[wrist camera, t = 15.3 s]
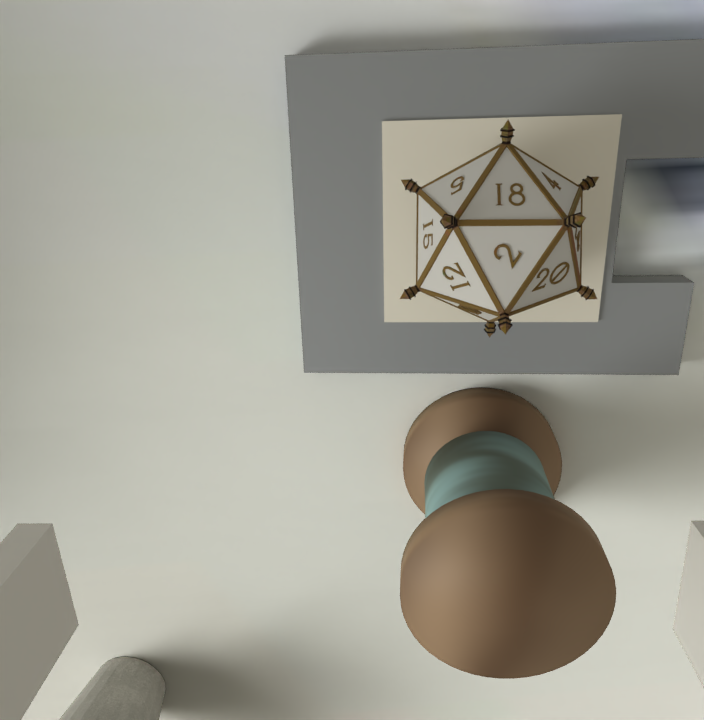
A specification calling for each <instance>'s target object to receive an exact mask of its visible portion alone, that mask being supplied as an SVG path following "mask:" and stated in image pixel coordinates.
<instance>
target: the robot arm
mask: <svg viewBox="0 0 704 720" xmlns="http://www.w3.org/2000/svg"><path fill="white" fill-rule="evenodd" d="M78 625H79V624H78V620H77V616H76V613H75V609H74V605H73V601H72V597H71V593H70V590H69V586H68V582H67V578H66V574H65V570H64V567H63V563H62V559H61V555H60V551H59V547H58V544H57V540H56V536H55V532H54V528H53V524H17V525H16V526H15V527H14V529H13V530H12V531H11V532H10V533H9V534H8V535H7V536H6V537H5V539H4V540H3V541H2V542H1V543H0V720H21V719H22V717H23V716H24V714H25V712H26V711H27V709H28V707H29V706H30V704H31V702H32V701H33V699H34V697H35V696H36V694H37V693H38V691H39V689H40V688H41V686H42V684H43V683H44V681H45V679H46V678H47V676H48V674H49V673H50V671H51V669H52V668H53V666H54V664H55V663H56V661H57V659H58V658H59V656H60V655H61V653H62V651H63V650H64V648H65V646H66V645H67V643H68V641H69V640H70V638H71V636H72V635H73V633H74V631H75V630H76V628H77V626H78ZM673 631H674V633H675V635H676V636H677V638H678V640H679V642H680V644H681V646H682V648H683V650H684V652H685V653H686V655H687V657H688V659H689V661H690V663H691V665H692V667H693V668H694V670H695V672H696V674H697V676H698V678H699V680H700V682H701V683H702V685H703V687H704V521H691V525H690V531H689V537H688V543H687V548H686V554H685V560H684V566H683V572H682V577H681V583H680V589H679V595H678V601H677V606H676V612H675V618H674V624H673Z"/></svg>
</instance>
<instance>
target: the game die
mask: <svg viewBox="0 0 704 720" xmlns="http://www.w3.org/2000/svg"><path fill="white" fill-rule="evenodd" d="M500 131H501V135H500V137H501V138H502V143H500V144H499V145H497V146H495V147H493V148H491V149H490V150H488V151H486V152H484V153H482V154H480V155H479V156H477V157H475V158H473V159H471V160H469V161H468V162H466V163H464V164H462V165H460V166H458V167H457V168H455V169H453V170H451V171H449V172H448V173H446V174H444V175H442V176H440V177H438V178H437V179H435V180H433V181H431V182H429V183H427V184H426V185H424V186H422V187H420V186H419V185H418V184H417V182H414V181H413V180H412V178H411V179H407V180H401V181H402V183H403V185H404V187H405V190H408V191H410V193H411V192H413V193H416V194H417V215H416V285H415V286H412V287H410V286H409V288H408V289H404V292H403V294H402V296H401V297H400V299H410V300H411V298H412V297H416V296H415V295H416V294H417V293H418V292H422V293H425V294H427V295H429V296H431V297H434V298H436V299H438V300H440V301H443V302H445V303H447V304H449V305H451V306H454V307H456V308H458V309H460V310H463V311H465V312H467V313H469V314H472V315H474V316H476V317H478V318H481V319H483V320H485V321H487V323H486V324H485V325H484V326H485V329H484V331H485V332H486V333H487V334H488V336H489V338H490V337H491V335H492V334H493V333H495V331H496V329H495V327H496V324H495V323H494V322H495V321H498V322H499V324H498V327H499V329H500V330H502V331H503V332H504V333H505V335H506V333H507V332H508V330H509V329H510V328H511V327H512V326H513V325H512V324H511V321H512V319H510V318H509V316H512V315H514V314H517V313H520V312H522V311H525V310H528V309H531V308H533V307H536V306H539V305H541V304H544V303H547V302H549V301H552V300H555V299H558V298H560V297H563V296H566V295H568V294H571V293H574V292H579V294H580V295H581V297H584V298H585V300H587V299H597V297H596V295H595V292H594V289H590V288H589V286H587V287H586V286H583V285H581V279H582V224H583V222H584V220H585V219H586V217H585V216H583V215H582V207H583V191H584V190H589V189H590V188H591V187H592V188H593V187H594V186H595V183H596V182H597V180H598V178H599V177H590V176H587V178H586V179H582V182H581V183H580V184H576V183H574V182H573V181H571V180H570V179H568V178H566V177H565V176H563V175H561V174H560V173H558V172H557V171H555V170H553V169H552V168H550V167H548V166H547V165H545V164H544V163H542V162H540V161H539V160H537V159H535V158H534V157H532V156H531V155H529V154H527V153H526V152H524V151H522V150H521V149H519V148H518V147H516V146H514V145H513V144H511V139H512V137H514V135H513V131H515V129H513V127H512V125H511V123H510V121H509V120H507V122H506V123H505V125H504V126H503V128H501V129H500Z"/></svg>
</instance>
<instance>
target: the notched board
mask: <svg viewBox="0 0 704 720" xmlns="http://www.w3.org/2000/svg"><path fill="white" fill-rule="evenodd" d="M285 68H286V85H287V101H288V117H289V134H290V150H291V166H292V183H293V199H294V215H295V232H296V248H297V265H298V281H299V297H300V314H301V330H302V346H303V363H304V372H305V373H462V374H619V375H679V369H680V363H681V357H682V351H683V345H684V340H685V334H686V328H687V322H688V316H689V310H690V304H691V298H692V292H693V286H694V282H692V281H691V280H689V279H687V278H686V277H684V276H683V275H659V276H612V275H613V267H614V258H615V250H616V242H617V234H618V225H619V217H620V209H621V201H622V192H623V184H624V176H625V168H626V159H660V158H703V157H704V39H691V40H665V41H640V42H614V43H589V44H563V45H537V46H512V47H486V48H461V49H435V50H410V51H384V52H359V53H333V54H308V55H285ZM507 120H509V121H510V123H511V125H512V127H513V129H515V131H513V135H514V137H512V139H511V144H513V145H514V146H516V147H518V148H519V149H521V150H522V151H524V152H526V153H527V154H529V155H531V156H532V157H534V158H535V159H537V160H539V161H540V162H542V163H544V164H545V165H547V166H548V167H550V168H552V169H553V170H555V171H557V172H558V173H560V174H561V175H563V176H565V177H566V178H568V179H570V180H571V181H573V182H574V183H576V184H580V183H581V182H582V179H586V178H587V176H590V177H599V178H598V180H597V182H596V183H595V186H594V187H593V188H592V187H591V188H590V189H589V190H584V191H583V207H582V215H583V216H585V217H586V219H585V220H584V222H583V224H582V279H581V285H583V286H586V287H587V286H589V288H590V289H594V292H595V295H596V297H597V299H587V300H585V298H584V297H581V295H580V294H579V292H574V293H571V294H568V295H566V296H563V297H560V298H558V299H555V300H552V301H549V302H547V303H544V304H541V305H539V306H536V307H533V308H531V309H528V310H525V311H522V312H520V313H517V314H514V315H512V316H509V318H510V319H512V321H511V324H512V325H513V326H512V327H511V328H510V329H509V330H508V332H507V333H506V335H505V333H504V332H503V331H502V330H500V329H499V327H498V324H499V322H498V321H495V322H494V323H495V324H496V327H495V329H496V331H495V333H493V334H492V335H491V337H490V338H489V336H488V334H487V333H486V332H485V331H484V329H485V326H484V325H485V324H486V323H487V321H485V320H483V319H481V318H478V317H476V316H474V315H472V314H469V313H467V312H465V311H463V310H460V309H458V308H456V307H454V306H451V305H449V304H447V303H445V302H443V301H440V300H438V299H436V298H434V297H431V296H429V295H427V294H425V293H422V292H418V293H417V294H416V295H415V296H416V297H412V298H411V300H410V299H400V297H401V296H402V294H403V292H404V289H408V288H409V286H410V287H412V286H415V285H416V215H417V194H416V193H413V192H411V193H410V191H408V190H405V187H404V185H403V183H402V181H401V180H407V179H411V178H412V180H413V181H414V182H417V184H418V185H419V186H420V187H422V186H424V185H426V184H427V183H429V182H431V181H433V180H435V179H437V178H438V177H440V176H442V175H444V174H446V173H448V172H449V171H451V170H453V169H455V168H457V167H458V166H460V165H462V164H464V163H466V162H468V161H469V160H471V159H473V158H475V157H477V156H479V155H480V154H482V153H484V152H486V151H488V150H490V149H491V148H493V147H495V146H497V145H499V144H500V143H502V138H501V137H500V135H501V131H500V129H501V128H503V126H504V125H505V123H506V122H507Z"/></svg>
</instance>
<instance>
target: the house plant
mask: <svg viewBox="0 0 704 720" xmlns="http://www.w3.org/2000/svg"><path fill="white" fill-rule="evenodd" d="M165 690H166V687H165V682H164V680H163V677H162V675H161V674H160V673H159V672H158V671H157V669H155V668H154V667H153V666H151V665H150V664H148V663H146V662H144V661H142V660H140V659H136V658H132V657H118V658H113V659H111V660H109V661H107V662H106V663H105V664H103V665H102V666H101V668H100V669H99V670H98V671H97V673H96V674H95V675H94V677H93V678H92V679H91V680H90V682H89V683H88V684H87V685H86V687H85V688H84V689H83V690H82V692H81V693H80V694H79V695H78V697H77V698H76V699H75V700H74V702H73V703H72V704H71V705H70V707H69V708H68V709H67V710H66V712H65V713H64V714H63V715H62V717H61V718H60V719H59V720H159V717H160V712H161V708H162V704H163V699H164V695H165Z"/></svg>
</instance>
